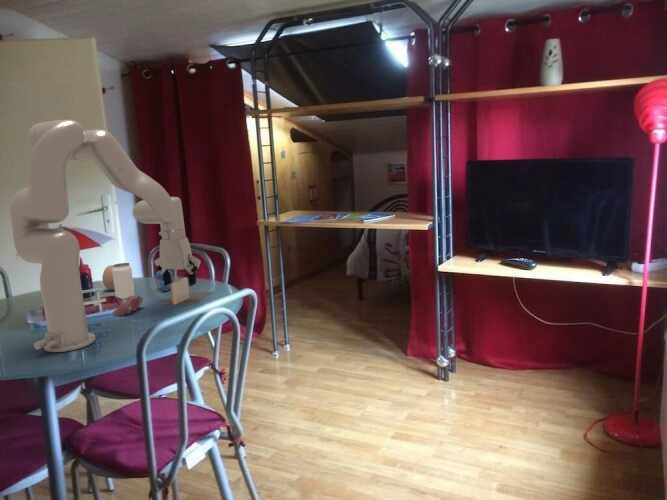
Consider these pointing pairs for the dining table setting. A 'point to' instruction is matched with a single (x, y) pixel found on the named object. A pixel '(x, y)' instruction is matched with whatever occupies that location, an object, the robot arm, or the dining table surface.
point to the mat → (190, 298)
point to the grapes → (160, 277)
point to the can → (123, 280)
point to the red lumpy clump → (128, 305)
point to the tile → (179, 291)
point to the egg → (108, 278)
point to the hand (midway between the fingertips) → (180, 284)
